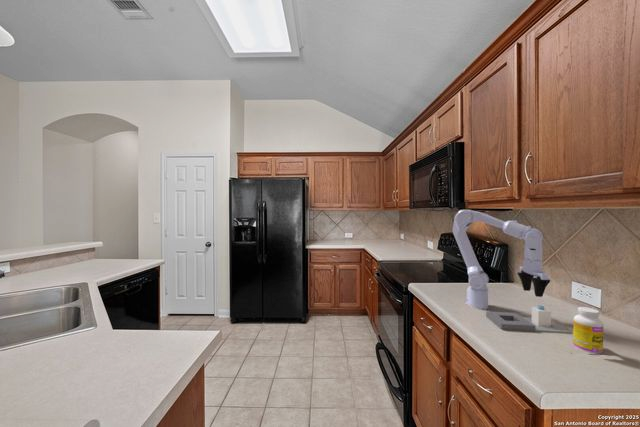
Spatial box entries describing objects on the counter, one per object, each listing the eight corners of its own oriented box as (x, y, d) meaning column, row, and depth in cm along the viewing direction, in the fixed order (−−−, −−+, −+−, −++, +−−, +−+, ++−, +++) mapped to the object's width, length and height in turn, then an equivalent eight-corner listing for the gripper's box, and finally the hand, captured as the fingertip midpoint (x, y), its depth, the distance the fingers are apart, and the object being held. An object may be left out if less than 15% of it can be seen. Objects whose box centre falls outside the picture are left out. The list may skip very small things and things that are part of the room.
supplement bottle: (593, 357, 81) (593, 314, 81) (567, 347, 88) (568, 306, 87) (608, 354, 83) (609, 312, 83) (582, 344, 89) (583, 304, 89)
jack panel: (486, 318, 110) (486, 311, 110) (546, 321, 107) (546, 314, 107) (501, 332, 98) (501, 323, 98) (570, 336, 95) (570, 327, 95)
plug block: (531, 325, 104) (531, 304, 104) (543, 325, 103) (543, 304, 103) (538, 329, 100) (538, 308, 100) (550, 330, 99) (550, 308, 99)
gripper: (557, 263, 101) (556, 299, 101) (532, 256, 115) (532, 288, 116) (536, 262, 102) (535, 298, 102) (514, 255, 116) (514, 287, 117)
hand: (532, 293), depth 109 cm, fingers open, 7 cm apart
